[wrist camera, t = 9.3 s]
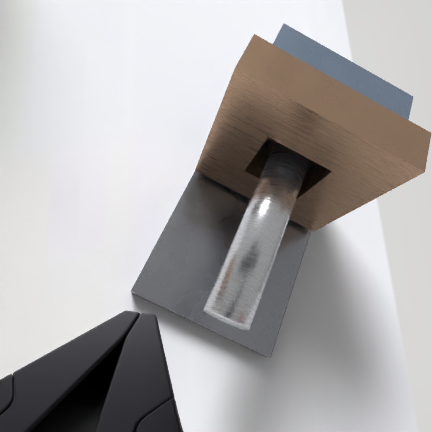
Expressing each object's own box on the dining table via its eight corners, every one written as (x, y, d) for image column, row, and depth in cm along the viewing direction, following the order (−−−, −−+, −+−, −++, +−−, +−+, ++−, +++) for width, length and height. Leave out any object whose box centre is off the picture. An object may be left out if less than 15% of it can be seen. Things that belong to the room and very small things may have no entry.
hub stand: (264, 356, 22) (379, 380, 12) (131, 292, 21) (128, 259, 11) (320, 186, 27) (429, 104, 17) (216, 132, 27) (267, 12, 17)
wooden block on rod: (313, 231, 24) (424, 172, 15) (194, 170, 23) (234, 68, 14) (321, 204, 25) (431, 133, 16) (208, 145, 24) (254, 34, 15)
